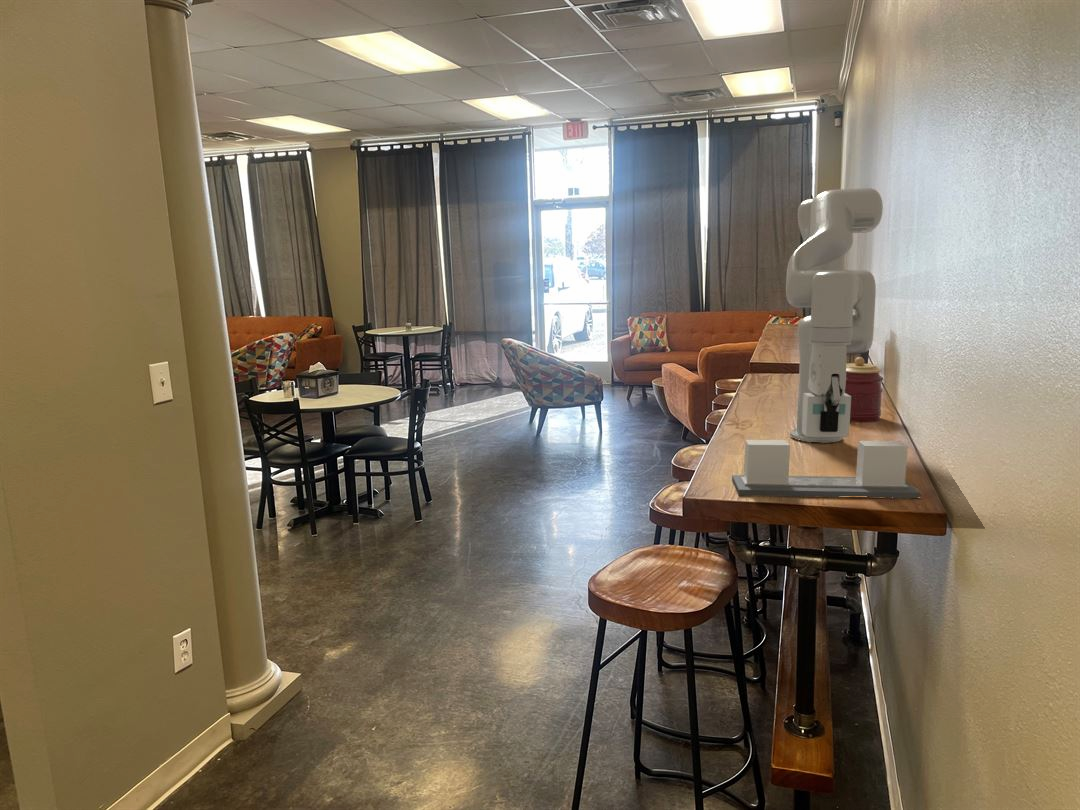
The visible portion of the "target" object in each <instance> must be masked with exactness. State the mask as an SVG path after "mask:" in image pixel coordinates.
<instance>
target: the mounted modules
mask: <svg viewBox="0 0 1080 810" xmlns="http://www.w3.org/2000/svg"><path fill="white" fill-rule="evenodd" d="M744 440H745V441H744V460H745V466H744V465H743V473H744V478H745V480H746V482H747V483H759V484H788V479H789V476H790V456H791V455H790V454H791V453H790V452H791V445H790V443H789V442H788V441H787V440H786V439H744ZM908 449H909V445H906V444H905V443H904V442H902V441H900V440H899V441H898V440H897V441H895V440H858V441H857V456H856V472H855V473H856V474H855V477H856V480H857V481H858V482H859V483H860V484H861V485H880V486H905V480H906V475H907V463H908Z"/></svg>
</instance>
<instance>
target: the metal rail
mask: <svg viewBox="0 0 1080 810" xmlns="http://www.w3.org/2000/svg"><path fill="white" fill-rule="evenodd" d="M741 479H742V481H743V483H744V485H745V486H779V487H838V488H897V489H908V486H907V485H906V484H905V486H880V485H861V484H860V483H859V482H858V481H857V480H856V479H855V478H790V477H789V479H788V484H759V483H747V482H746V480H745V478H744V477H741Z"/></svg>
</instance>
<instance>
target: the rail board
mask: <svg viewBox="0 0 1080 810" xmlns="http://www.w3.org/2000/svg"><path fill="white" fill-rule="evenodd" d="M741 477H744V475H743V474H732V475H731V482H732V483H733V486H734V488H735V490H736V493H737V495H738V496H745V497H746V496H747V497H748V496H749V497H750V496H753V497H795V498H796V497H801V498H802V497H803V498H804V497H807V498H809V497H810V496H811V497H810V498H815V497H816V496H818V497H816V498H840V497H839V496H867V497H888V498H887V499H903V498H918V497H921V498H922V492H921V491H920V490H919V489H917V488H916V487H915V486H914V485H912V484H911V483H910V482H909V481H907V480H906V479H905V484H906V485H907V486H908V489H897V488H838V487H779V486H745V485H744V483H743V481H742V479H741ZM789 477H790V478H855V479H856V476H832V475H831V476H830V475H829V476H826V475H825V476H823V475H822V476H820V475H819V476H818V475H816V476H815V475H789ZM892 497H893V498H892Z"/></svg>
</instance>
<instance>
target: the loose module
mask: <svg viewBox="0 0 1080 810" xmlns="http://www.w3.org/2000/svg"><path fill="white" fill-rule="evenodd" d="M826 395H831V393H826ZM828 400H831V399H827V401H828ZM850 409H851V396H850V395H848V394H846V393H844V394H843V395H842V396H840V402H839V415H838V431H837V432H821V431H820V416H821V411H823V394H822V396H817V395H816V394H814V393H803V413H802V433H803V434H804V435H805V436H806V437H842V438H849V437H850V424H851V423H850V422H851V421H850Z"/></svg>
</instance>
